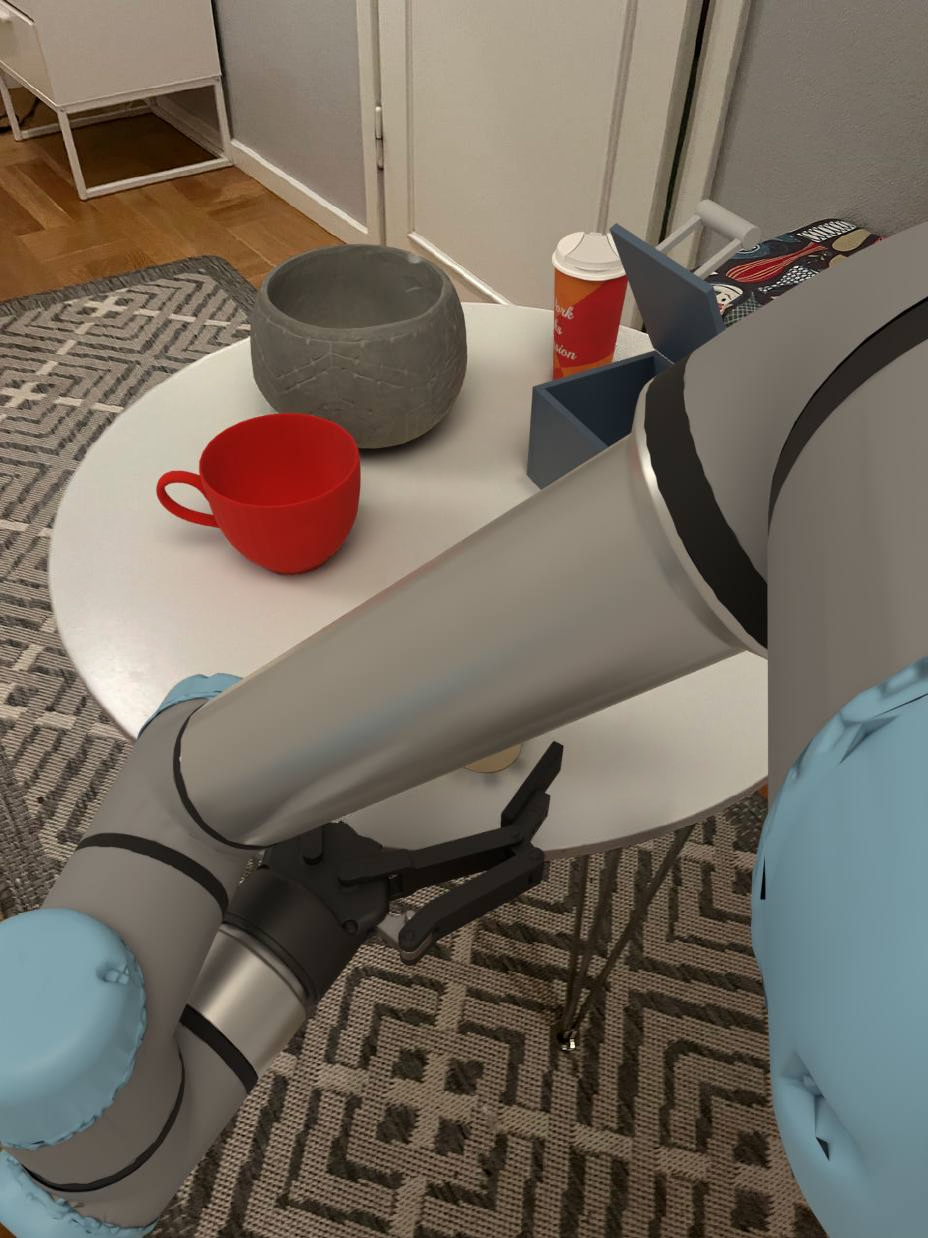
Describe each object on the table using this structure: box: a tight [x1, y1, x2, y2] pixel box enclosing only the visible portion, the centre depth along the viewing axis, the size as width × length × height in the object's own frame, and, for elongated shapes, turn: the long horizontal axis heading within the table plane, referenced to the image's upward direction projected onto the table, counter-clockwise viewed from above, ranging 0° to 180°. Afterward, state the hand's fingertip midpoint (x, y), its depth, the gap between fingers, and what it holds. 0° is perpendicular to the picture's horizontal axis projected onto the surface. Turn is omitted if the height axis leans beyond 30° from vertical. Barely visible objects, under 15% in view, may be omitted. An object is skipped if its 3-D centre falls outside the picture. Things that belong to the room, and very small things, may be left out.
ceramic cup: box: [155, 413, 362, 576], centre depth 81 cm, size 13×17×10 cm
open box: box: [526, 349, 674, 490], centre depth 87 cm, size 14×13×10 cm
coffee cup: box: [551, 231, 629, 380], centre depth 99 cm, size 8×8×15 cm
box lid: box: [608, 198, 762, 364], centre depth 80 cm, size 14×13×8 cm
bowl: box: [249, 243, 468, 449], centre depth 93 cm, size 21×21×15 cm
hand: (469, 710), depth 64 cm, fingers open, 13 cm apart
